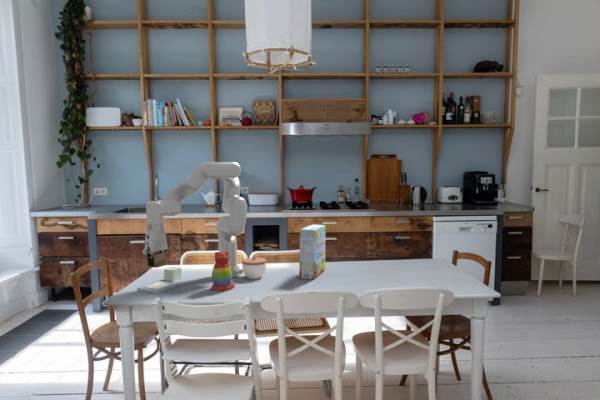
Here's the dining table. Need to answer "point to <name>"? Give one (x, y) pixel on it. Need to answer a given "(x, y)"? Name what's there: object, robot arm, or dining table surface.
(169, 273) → the sage block
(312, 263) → the snack box
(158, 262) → the walnut block
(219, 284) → the stacking bear
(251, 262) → the lidded bowl
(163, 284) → the board
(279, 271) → the dining table surface
